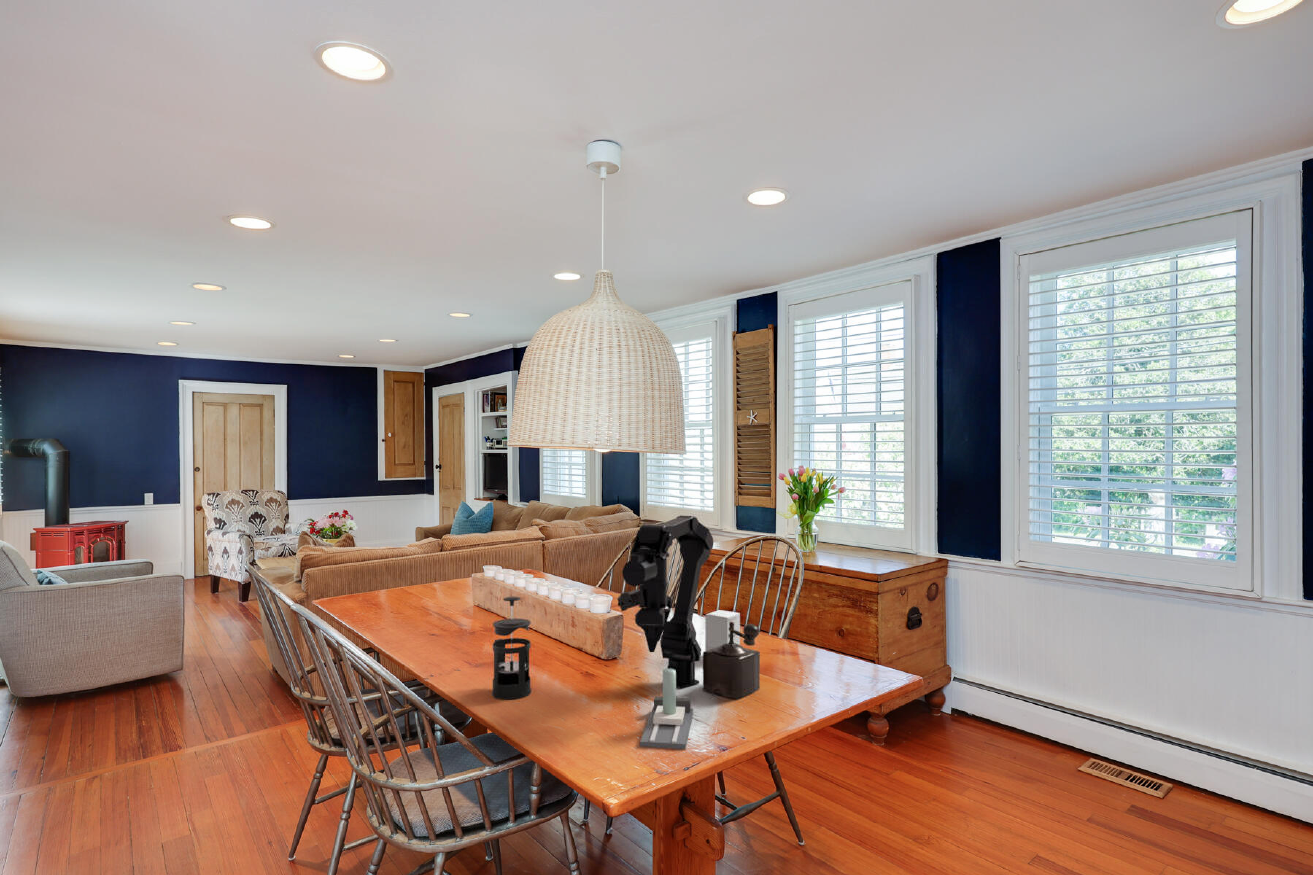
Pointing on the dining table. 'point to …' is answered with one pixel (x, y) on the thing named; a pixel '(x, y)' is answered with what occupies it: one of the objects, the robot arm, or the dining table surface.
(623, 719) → the dining table surface
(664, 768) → the dining table surface
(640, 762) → the dining table surface
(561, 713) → the dining table surface
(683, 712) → the carriage
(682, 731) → the rail track
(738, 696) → the manual coffee grinder
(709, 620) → the supplement box
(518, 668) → the french press
